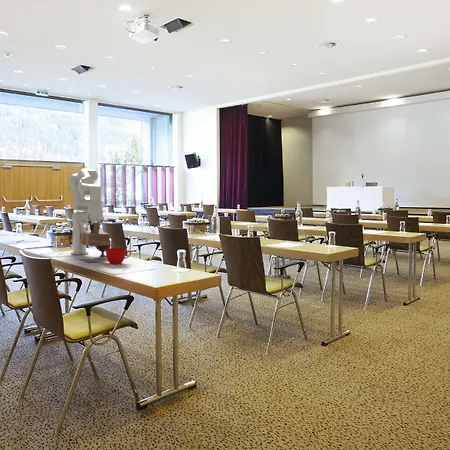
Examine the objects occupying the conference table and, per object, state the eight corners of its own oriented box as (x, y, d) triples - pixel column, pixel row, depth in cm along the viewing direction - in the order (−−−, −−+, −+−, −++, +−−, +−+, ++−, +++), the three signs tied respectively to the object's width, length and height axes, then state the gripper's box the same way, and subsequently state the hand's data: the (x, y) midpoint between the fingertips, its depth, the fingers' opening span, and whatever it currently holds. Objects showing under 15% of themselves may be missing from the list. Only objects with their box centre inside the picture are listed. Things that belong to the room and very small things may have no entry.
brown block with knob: (79, 243, 321) (79, 222, 319) (98, 242, 331) (99, 221, 329) (89, 246, 310) (90, 224, 309) (109, 244, 320) (110, 223, 319)
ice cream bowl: (106, 258, 334) (106, 237, 333) (92, 257, 336) (92, 236, 335) (112, 256, 344) (113, 236, 343) (98, 255, 347) (99, 235, 346)
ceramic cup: (133, 264, 311) (134, 249, 310) (108, 266, 303) (108, 250, 302) (127, 261, 322) (128, 247, 321) (103, 263, 314) (103, 248, 313)
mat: (77, 260, 321) (77, 259, 321) (99, 258, 333) (99, 257, 333) (89, 263, 309) (89, 263, 309) (112, 261, 320) (112, 261, 320)
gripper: (103, 203, 326) (103, 229, 328) (81, 203, 315) (80, 230, 316) (109, 203, 321) (108, 230, 323) (86, 203, 309) (86, 231, 311)
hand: (94, 229), depth 320 cm, fingers closed on brown block with knob, 4 cm apart
